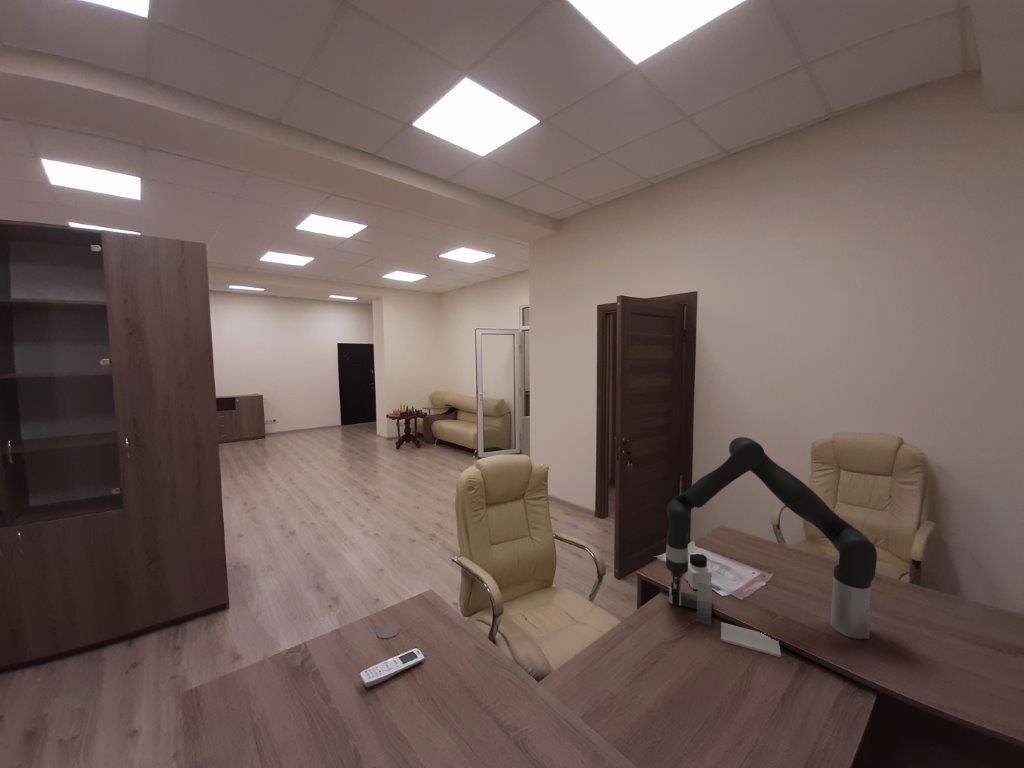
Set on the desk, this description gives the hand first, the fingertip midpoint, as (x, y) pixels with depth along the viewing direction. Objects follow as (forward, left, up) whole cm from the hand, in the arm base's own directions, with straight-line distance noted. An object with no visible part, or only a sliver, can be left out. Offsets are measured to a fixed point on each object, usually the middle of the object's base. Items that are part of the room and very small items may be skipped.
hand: (676, 599), depth 146 cm
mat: (-23, +9, -1) cm, 24 cm away
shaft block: (-9, 0, -1) cm, 9 cm away
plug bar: (-3, 0, -1) cm, 3 cm away
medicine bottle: (-7, -15, -1) cm, 17 cm away
